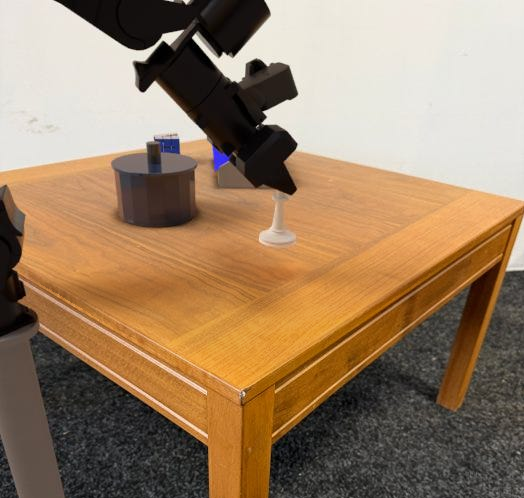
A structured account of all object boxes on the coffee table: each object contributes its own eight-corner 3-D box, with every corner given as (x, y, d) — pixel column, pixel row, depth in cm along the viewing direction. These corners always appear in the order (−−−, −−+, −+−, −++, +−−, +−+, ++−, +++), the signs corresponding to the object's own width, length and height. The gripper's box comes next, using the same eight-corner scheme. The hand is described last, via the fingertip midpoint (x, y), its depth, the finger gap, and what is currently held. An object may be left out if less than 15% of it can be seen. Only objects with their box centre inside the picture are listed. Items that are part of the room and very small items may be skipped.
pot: (157, 233, 85) (154, 181, 81) (103, 214, 91) (97, 165, 87) (211, 213, 94) (210, 165, 89) (158, 197, 100) (155, 152, 95)
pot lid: (154, 186, 80) (152, 157, 78) (93, 169, 87) (89, 142, 85) (214, 168, 90) (214, 142, 88) (155, 154, 96) (153, 130, 94)
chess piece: (301, 238, 72) (308, 160, 67) (288, 250, 68) (294, 169, 63) (267, 231, 74) (271, 154, 69) (252, 243, 70) (255, 163, 65)
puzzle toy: (180, 159, 124) (179, 132, 121) (181, 164, 120) (180, 137, 117) (155, 159, 123) (153, 132, 120) (155, 165, 119) (153, 137, 116)
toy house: (212, 159, 125) (211, 125, 121) (273, 160, 126) (274, 126, 122) (215, 187, 106) (214, 148, 102) (286, 187, 108) (288, 148, 104)
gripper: (284, 39, 50) (374, 159, 59) (232, 28, 65) (310, 125, 74) (201, 131, 52) (300, 234, 61) (169, 100, 67) (252, 186, 76)
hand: (291, 189), depth 68 cm, fingers closed on chess piece
